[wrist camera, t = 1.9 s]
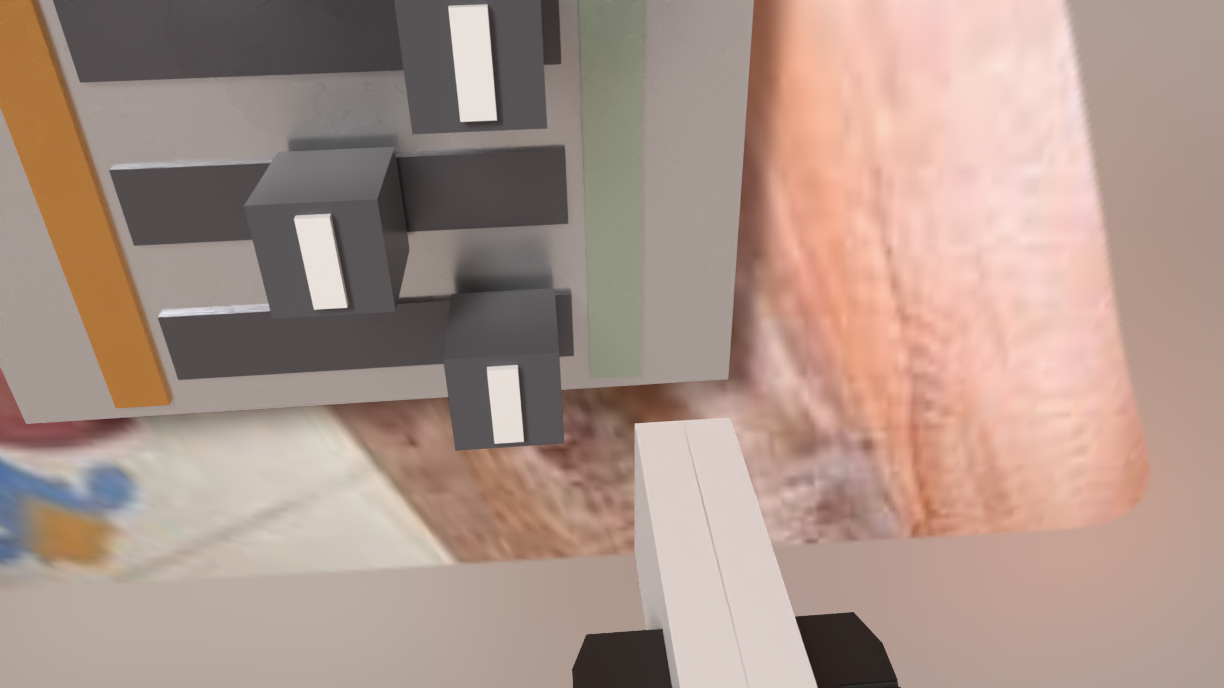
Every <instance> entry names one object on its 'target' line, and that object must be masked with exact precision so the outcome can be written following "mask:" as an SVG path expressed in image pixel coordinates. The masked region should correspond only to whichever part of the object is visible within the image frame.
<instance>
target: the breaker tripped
mask: <svg viewBox="0 0 1224 688" xmlns="http://www.w3.org/2000/svg"><path fill="white" fill-rule="evenodd" d="M244 208H245V212H246V216H247V220H248V224H249V228H250V232H251V236H252V240H253V244H254V248H255V252H256V256H257V260H258V264H259V268H260V272H261V276H262V280H263V284H264V288H265V292H266V296H267V300H268V304H269V308H270V312H271V316H272V319H277V318H295V317H312V316H330V315H348V314H365V313H383V312H396V308H397V304H398V299H399V295H400V290H401V286H402V281H403V277H404V272H405V268H406V264H407V259H408V255H409V250H410V248H409V242H408V235H407V228H406V221H405V215H404V208H403V201H402V194H401V188H400V181H399V174H398V168H397V161H396V154H395V147H378V148H356V149H333V150H310V151H287V152H278V153H277V154H276V156H275V158H274V159H273V161H272V162H271V164H270V165H269V167H268V169H267V170H266V172H265V173H264V175H263V176H262V178H261V180H260V181H259V183H258V184H257V186H256V187H255V189H254V191H253V192H252V194H251V195H250V197H249V198H248V200H247V202H246V203H245V205H244Z"/></svg>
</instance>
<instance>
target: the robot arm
mask: <svg viewBox="0 0 1224 688" xmlns="http://www.w3.org/2000/svg"><path fill="white" fill-rule="evenodd" d="M635 556H636V563H637V570H638V577H639V584H640V591H641V598H642V605H643V612H644V619H645V626H646V630H642V631H628V632H614V633H601V634H588V635H586V637H585V639H584V642H583V644H582V647H581V649H580V652H579V654H578V657H577V659H576V661H575V664H574V666H573V669H572V673H573V688H901V687H899V686H898V683H897V678H896V675H895V673H894V670H893V668H892V665H891V663H890V660H889V658H888V656H887V653H886V651H885V648H884V646H883V644H882V642H881V641H880V640H879V639H878V638H877V637H876V636H875V635H874V634H873V633H872V632H871V630H870V629H869V628H868V627H867V626H866V625H865V624H864V623H863V622H862V621H861V620H860V619H859V618H858V616H856V615H855V613H854V612H850V613H837V614H824V615H810V616H799V617H798V616H797V617H795V616H794V613H793V610H792V607H791V604H790V601H789V597H788V595H787V591H786V588H785V585H784V582H783V579H782V576H781V573H780V570H779V567H778V564H777V560H776V557H775V554H774V551H773V548H772V545H771V542H770V539H769V536H768V533H767V529H766V526H765V523H764V520H763V517H762V514H761V511H760V508H759V505H758V502H757V499H756V495H755V492H754V489H753V486H752V483H751V480H750V477H749V474H748V471H747V468H746V465H745V461H744V458H743V455H742V452H741V449H740V446H739V443H738V440H737V437H736V434H735V431H734V427H733V424H732V421H731V418H716V419H700V420H683V421H667V422H651V423H635Z"/></svg>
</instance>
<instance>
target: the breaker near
mask: <svg viewBox="0 0 1224 688" xmlns="http://www.w3.org/2000/svg"><path fill="white" fill-rule="evenodd" d="M394 3H395V11H396V18H397V25H398V33H399V40H400V47H401V55H402V62H403V69H404V77H405V84H406V91H407V98H408V106H409V113H410V120H411V128H412V134H433V133H456V132H479V131H502V130H526V129H547V112H546V93H545V74H544V56H543V37H542V18H541V0H394Z"/></svg>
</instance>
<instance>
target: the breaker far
mask: <svg viewBox="0 0 1224 688" xmlns="http://www.w3.org/2000/svg"><path fill="white" fill-rule="evenodd" d="M443 362H444V369H445V377H446V384H447V391H448V399H449V406H450V413H451V421H452V428H453V435H454V443H455V450H471V449H486V448H500V447H515V446H530V445H545V444H559V443H564V431H563V412H562V393H561V374H560V356H559V342H558V329H557V316H556V303H555V290H554V288H552V289H533V290H515V291H497V292H479V293H461V294H451V301H450V309H449V317H448V325H447V333H446V341H445V349H444V357H443Z"/></svg>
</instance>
